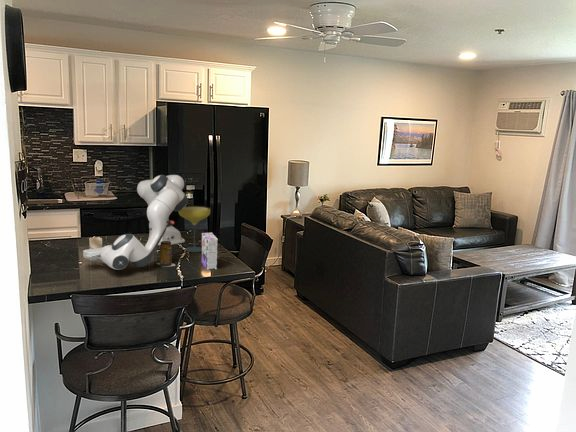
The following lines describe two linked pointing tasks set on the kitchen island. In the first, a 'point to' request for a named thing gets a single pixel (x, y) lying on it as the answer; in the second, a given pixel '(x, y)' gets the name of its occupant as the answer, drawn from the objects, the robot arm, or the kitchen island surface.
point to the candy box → (209, 251)
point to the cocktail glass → (194, 219)
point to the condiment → (166, 254)
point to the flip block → (95, 243)
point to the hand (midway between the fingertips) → (100, 248)
